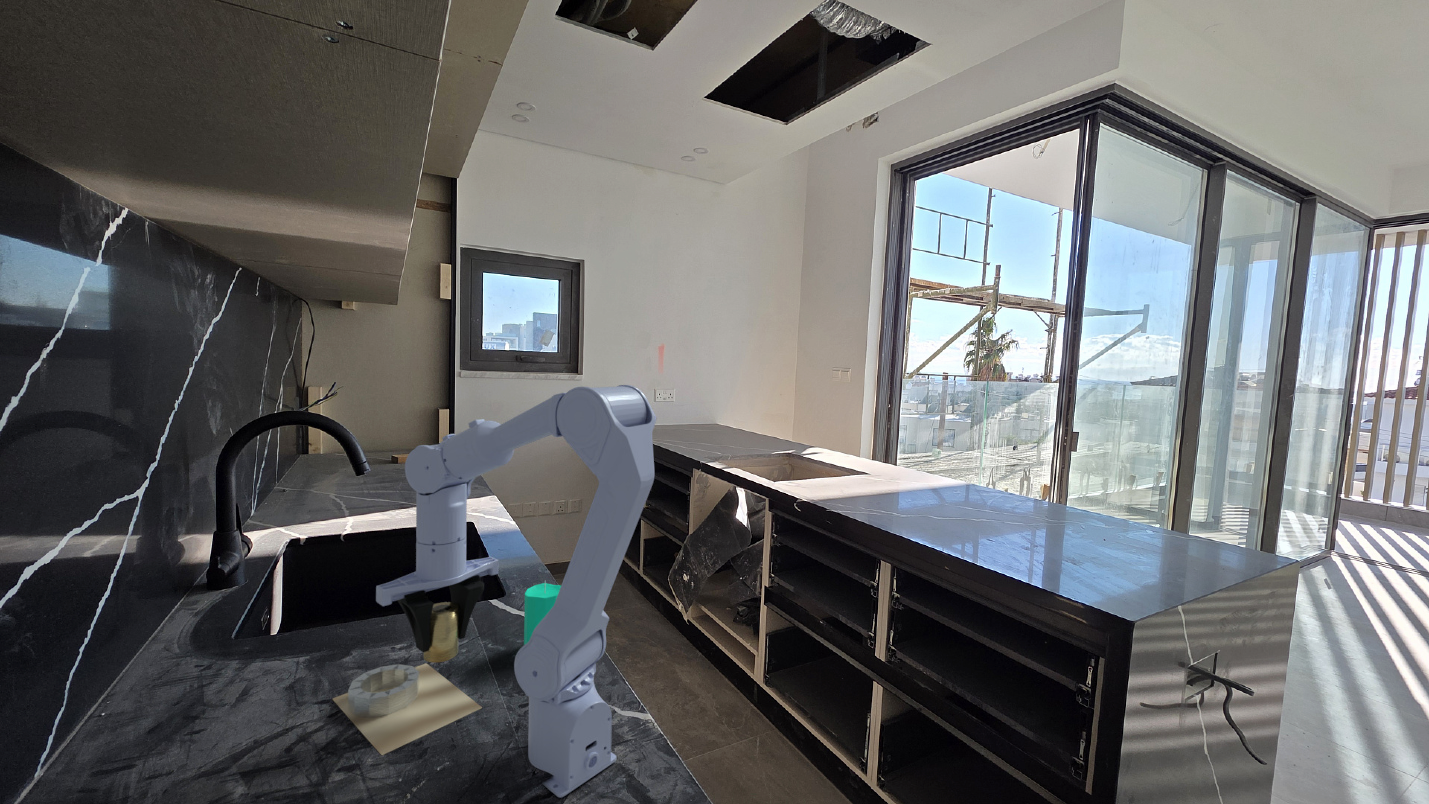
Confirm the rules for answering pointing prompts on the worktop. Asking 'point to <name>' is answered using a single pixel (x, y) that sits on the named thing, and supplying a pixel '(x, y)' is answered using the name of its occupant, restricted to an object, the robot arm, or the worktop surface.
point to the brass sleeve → (443, 633)
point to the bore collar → (388, 701)
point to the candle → (538, 606)
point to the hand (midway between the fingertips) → (441, 642)
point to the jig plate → (414, 712)
